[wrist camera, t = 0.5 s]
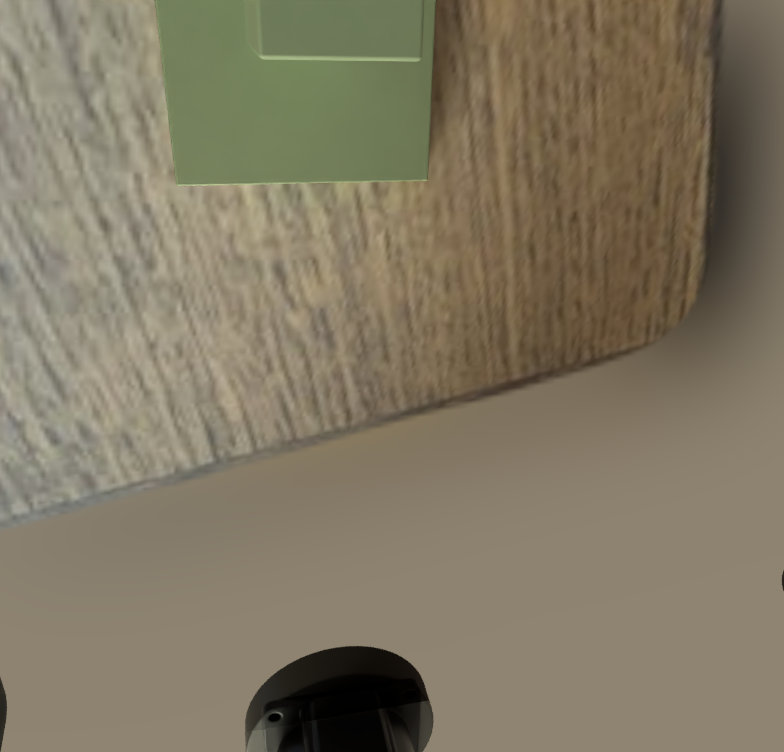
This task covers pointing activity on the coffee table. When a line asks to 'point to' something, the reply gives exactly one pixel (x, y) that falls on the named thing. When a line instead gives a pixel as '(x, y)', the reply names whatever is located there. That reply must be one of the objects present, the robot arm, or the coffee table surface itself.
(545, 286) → the coffee table surface
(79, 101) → the coffee table surface
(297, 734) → the robot arm
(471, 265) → the coffee table surface
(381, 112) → the green stepped block
